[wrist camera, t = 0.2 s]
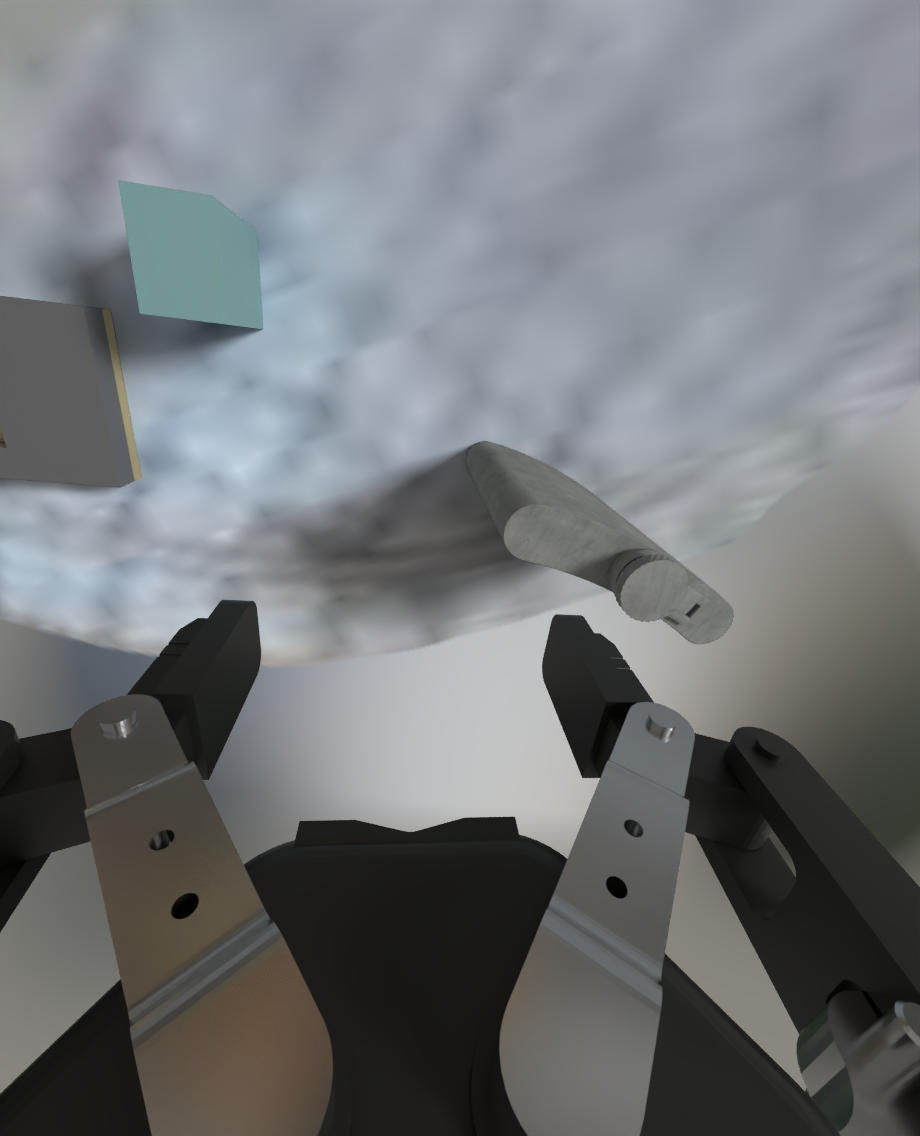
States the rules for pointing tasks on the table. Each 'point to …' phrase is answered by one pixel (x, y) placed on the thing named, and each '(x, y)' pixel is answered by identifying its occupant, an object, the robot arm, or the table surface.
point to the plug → (191, 256)
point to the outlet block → (63, 396)
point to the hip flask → (591, 542)
